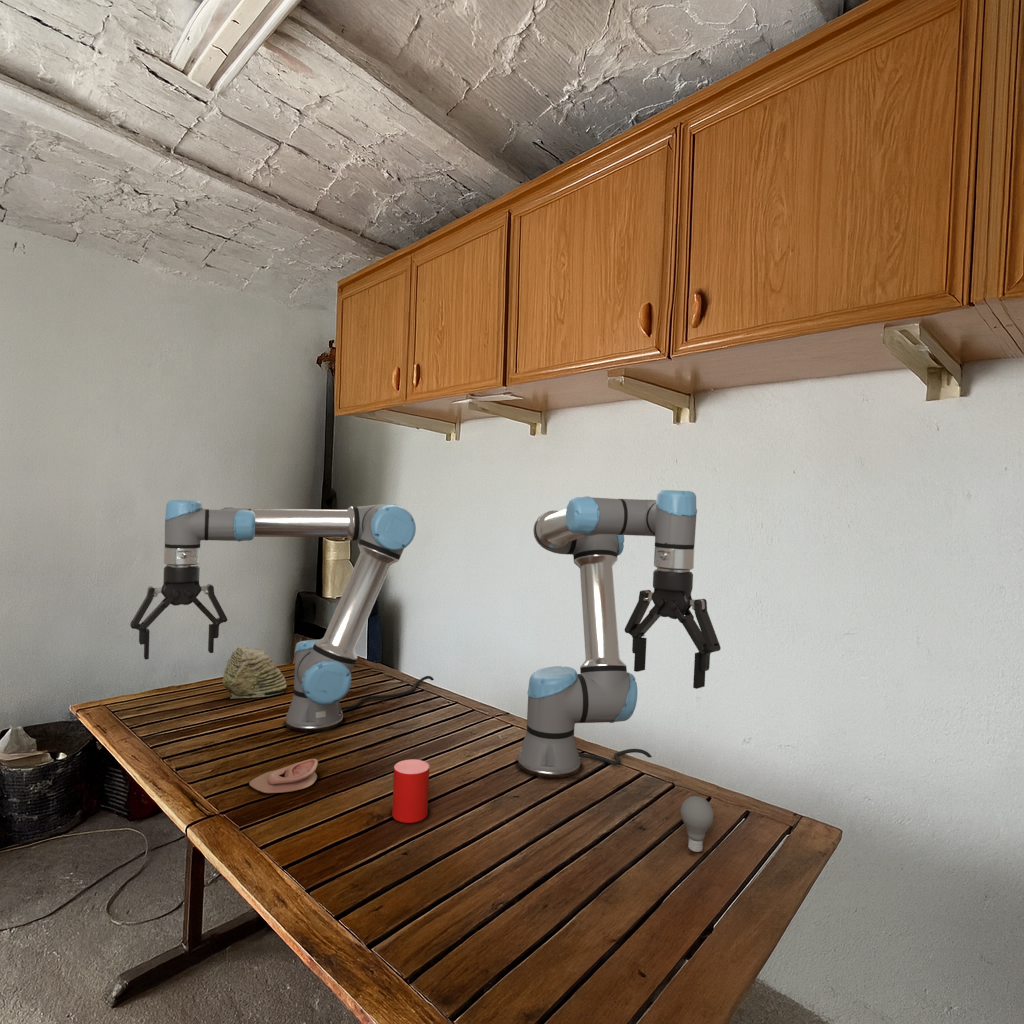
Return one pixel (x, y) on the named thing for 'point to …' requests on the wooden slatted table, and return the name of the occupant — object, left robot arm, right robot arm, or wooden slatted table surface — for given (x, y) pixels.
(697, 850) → the light bulb
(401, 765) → the cylinder
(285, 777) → the anatomical model
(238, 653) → the fossil
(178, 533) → the left robot arm
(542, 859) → the wooden slatted table surface
